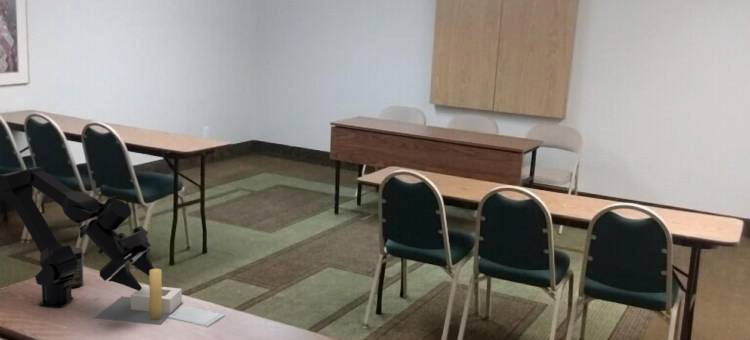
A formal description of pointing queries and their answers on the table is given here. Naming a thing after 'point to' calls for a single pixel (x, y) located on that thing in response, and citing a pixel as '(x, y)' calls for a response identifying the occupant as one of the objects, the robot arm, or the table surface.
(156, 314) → the peg
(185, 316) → the hard drive
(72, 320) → the table surface
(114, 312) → the mat
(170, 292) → the hole block
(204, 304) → the table surface
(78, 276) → the supplement container
